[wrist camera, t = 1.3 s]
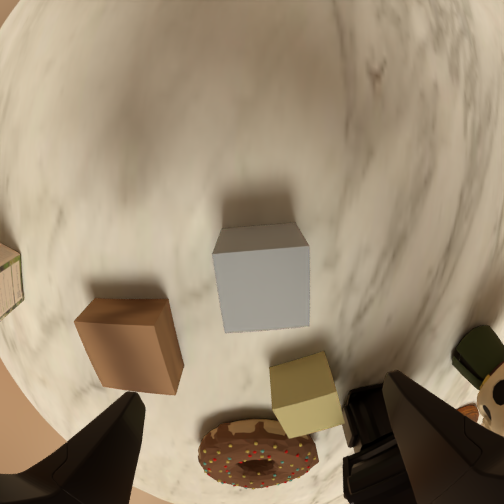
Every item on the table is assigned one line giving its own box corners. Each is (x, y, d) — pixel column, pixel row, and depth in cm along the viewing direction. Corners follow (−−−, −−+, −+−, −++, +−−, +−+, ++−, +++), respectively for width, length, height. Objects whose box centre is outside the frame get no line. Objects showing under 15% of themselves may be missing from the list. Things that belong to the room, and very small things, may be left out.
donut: (196, 456, 30) (192, 485, 25) (206, 401, 25) (200, 440, 21) (296, 465, 31) (299, 493, 26) (335, 414, 26) (344, 449, 22)
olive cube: (323, 350, 23) (336, 391, 18) (333, 384, 24) (344, 423, 20) (269, 366, 23) (272, 409, 19) (284, 398, 25) (289, 438, 20)
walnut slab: (169, 297, 21) (154, 325, 17) (184, 363, 24) (175, 395, 20) (96, 296, 21) (73, 321, 18) (118, 359, 24) (102, 386, 20)
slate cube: (295, 222, 19) (309, 245, 14) (297, 287, 21) (309, 326, 16) (221, 228, 19) (212, 253, 14) (230, 293, 21) (224, 333, 16)
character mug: (464, 307, 22) (539, 387, 9) (502, 299, 21) (570, 361, 9) (433, 384, 25) (478, 463, 13) (472, 371, 25) (517, 437, 13)
